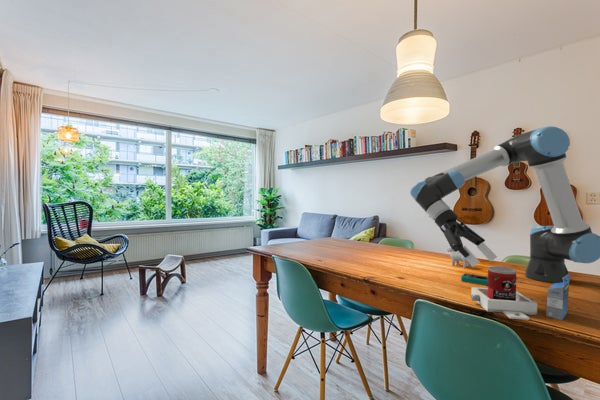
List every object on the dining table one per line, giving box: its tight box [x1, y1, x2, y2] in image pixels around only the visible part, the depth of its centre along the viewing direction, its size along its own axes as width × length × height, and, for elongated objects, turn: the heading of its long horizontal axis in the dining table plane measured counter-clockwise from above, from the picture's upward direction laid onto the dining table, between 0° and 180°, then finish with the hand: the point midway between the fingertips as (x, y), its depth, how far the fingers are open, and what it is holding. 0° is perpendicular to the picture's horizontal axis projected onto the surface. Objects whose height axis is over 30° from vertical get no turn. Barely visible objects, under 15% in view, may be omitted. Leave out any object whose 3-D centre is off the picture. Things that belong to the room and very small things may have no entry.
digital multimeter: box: [460, 272, 488, 287], centre depth 122 cm, size 7×15×3 cm, turn 50°
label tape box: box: [545, 273, 570, 321], centre depth 89 cm, size 9×4×12 cm, turn 131°
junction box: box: [470, 286, 538, 321], centre depth 96 cm, size 17×22×4 cm
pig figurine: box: [446, 245, 472, 269], centre depth 154 cm, size 5×13×11 cm, turn 28°
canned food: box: [487, 266, 517, 301], centre depth 96 cm, size 8×8×11 cm
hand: (485, 261), depth 100 cm, fingers open, 13 cm apart
